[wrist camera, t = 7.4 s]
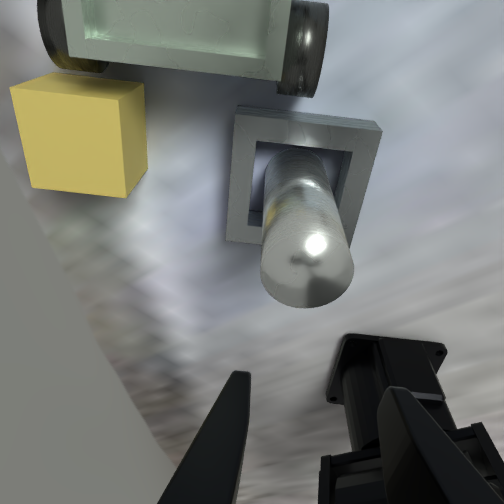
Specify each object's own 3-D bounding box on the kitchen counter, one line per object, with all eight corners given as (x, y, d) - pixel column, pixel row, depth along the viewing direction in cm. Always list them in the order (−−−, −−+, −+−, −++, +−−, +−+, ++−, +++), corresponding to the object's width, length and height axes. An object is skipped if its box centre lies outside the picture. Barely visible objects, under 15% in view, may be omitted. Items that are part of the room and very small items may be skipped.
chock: (148, 167, 20) (126, 198, 17) (68, 158, 20) (31, 187, 17) (144, 82, 17) (118, 100, 15) (54, 71, 17) (9, 87, 14)
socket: (343, 237, 21) (347, 254, 20) (228, 225, 21) (225, 240, 20) (374, 121, 18) (382, 131, 16) (237, 105, 18) (234, 114, 16)
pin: (319, 207, 20) (342, 312, 14) (261, 201, 20) (255, 303, 14) (331, 151, 19) (364, 238, 12) (268, 144, 19) (266, 227, 12)
